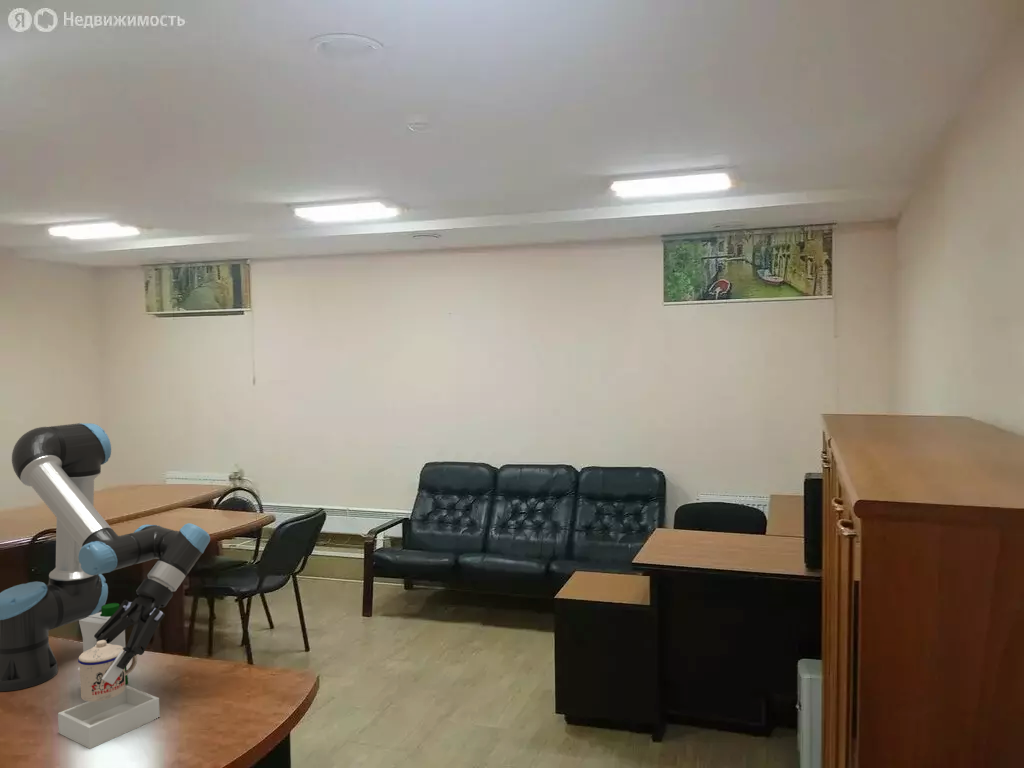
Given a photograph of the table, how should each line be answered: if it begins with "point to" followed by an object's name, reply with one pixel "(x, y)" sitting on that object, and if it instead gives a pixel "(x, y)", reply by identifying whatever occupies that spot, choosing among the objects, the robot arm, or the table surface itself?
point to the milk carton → (94, 623)
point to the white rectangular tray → (108, 717)
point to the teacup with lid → (101, 672)
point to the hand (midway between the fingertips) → (94, 677)
